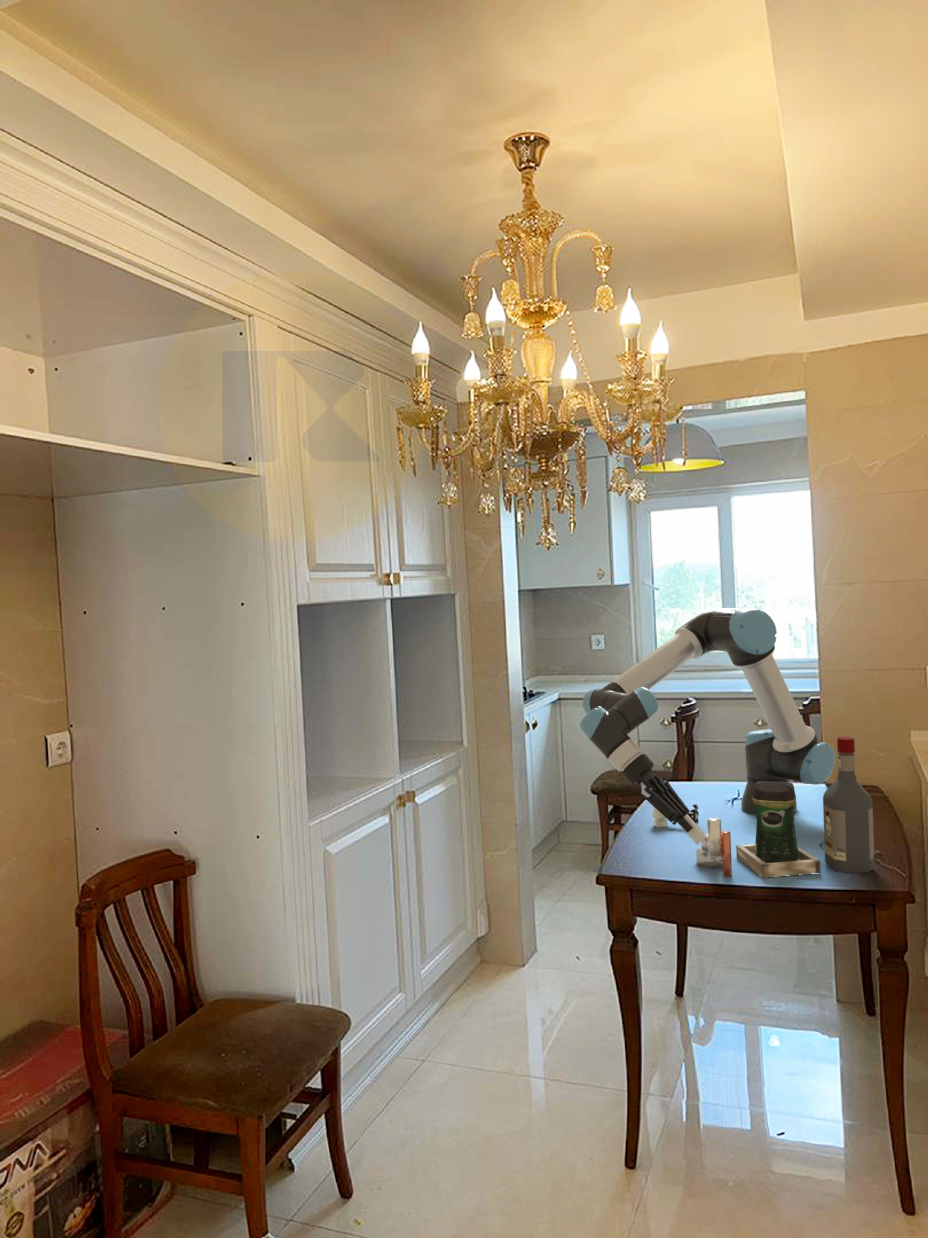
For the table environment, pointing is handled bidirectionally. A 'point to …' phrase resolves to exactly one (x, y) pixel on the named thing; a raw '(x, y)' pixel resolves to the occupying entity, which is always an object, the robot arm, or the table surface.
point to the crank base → (723, 861)
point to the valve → (662, 820)
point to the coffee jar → (775, 822)
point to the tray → (778, 863)
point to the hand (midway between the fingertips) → (702, 840)
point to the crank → (713, 838)
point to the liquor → (848, 817)
